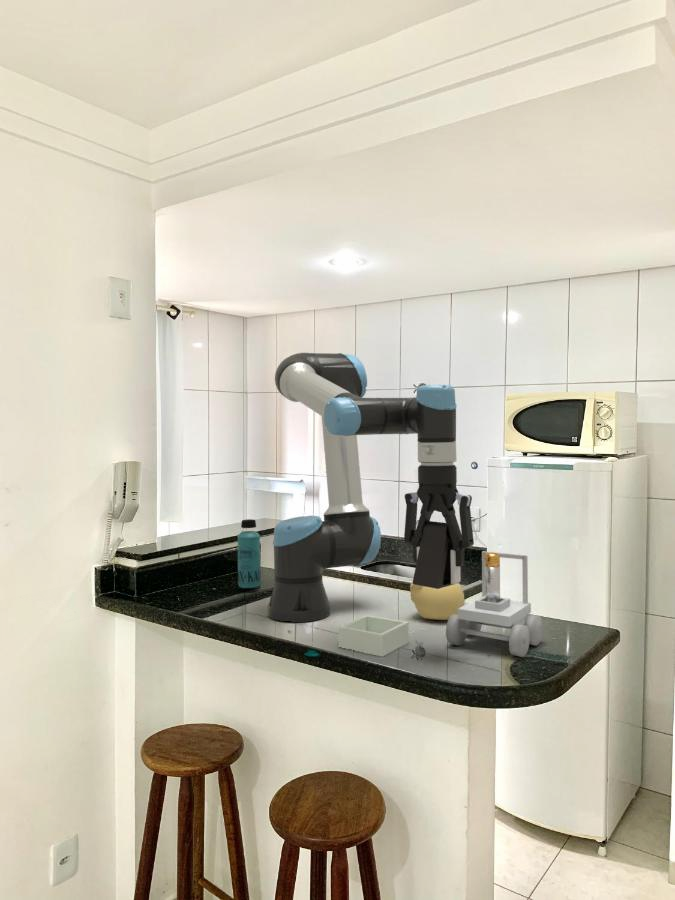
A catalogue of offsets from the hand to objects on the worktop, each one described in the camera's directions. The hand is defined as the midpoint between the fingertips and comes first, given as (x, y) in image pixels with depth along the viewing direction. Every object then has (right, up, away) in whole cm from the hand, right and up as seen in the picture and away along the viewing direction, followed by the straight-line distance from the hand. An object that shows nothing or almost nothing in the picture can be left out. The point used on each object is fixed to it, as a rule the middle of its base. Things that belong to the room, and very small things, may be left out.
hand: (438, 580), depth 137 cm
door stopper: (0, -1, 0) cm, 1 cm away
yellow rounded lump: (+4, -14, +27) cm, 31 cm away
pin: (+12, -6, +5) cm, 15 cm away
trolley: (+13, -14, +7) cm, 20 cm away
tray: (-12, -15, +8) cm, 21 cm away
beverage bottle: (-44, -14, +58) cm, 74 cm away
